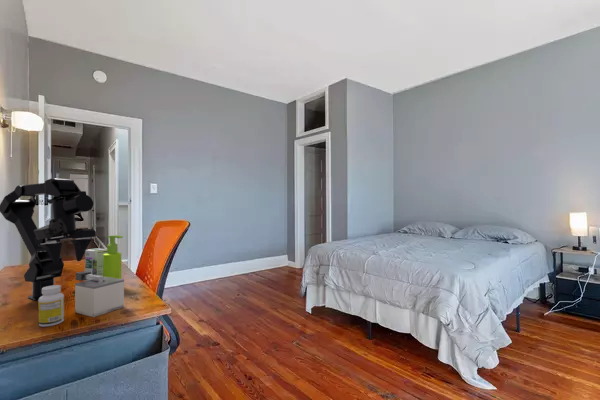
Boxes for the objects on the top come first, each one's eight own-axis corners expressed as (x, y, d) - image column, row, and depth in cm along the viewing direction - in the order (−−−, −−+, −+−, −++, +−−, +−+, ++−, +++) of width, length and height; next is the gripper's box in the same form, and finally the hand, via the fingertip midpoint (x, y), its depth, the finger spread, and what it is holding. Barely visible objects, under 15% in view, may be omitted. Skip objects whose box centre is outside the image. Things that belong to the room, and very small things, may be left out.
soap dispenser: (115, 290, 111) (115, 236, 112) (99, 289, 113) (99, 236, 113) (127, 286, 117) (127, 234, 117) (111, 285, 119) (112, 234, 119)
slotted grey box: (75, 312, 90) (75, 283, 90) (105, 303, 98) (105, 276, 98) (93, 317, 86) (94, 286, 86) (123, 307, 94) (124, 279, 94)
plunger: (75, 298, 95) (75, 272, 95) (85, 295, 97) (85, 271, 97) (96, 303, 90) (96, 276, 90) (106, 300, 93) (106, 274, 93)
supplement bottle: (48, 319, 84) (48, 284, 84) (69, 319, 85) (69, 283, 85) (32, 327, 79) (32, 290, 79) (55, 326, 79) (55, 289, 79)
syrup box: (83, 287, 116) (84, 249, 116) (99, 283, 121) (99, 247, 121) (93, 289, 113) (94, 250, 114) (109, 285, 119) (109, 248, 119)
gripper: (15, 219, 95) (17, 269, 94) (63, 211, 91) (67, 263, 90) (50, 219, 106) (53, 264, 105) (95, 212, 102) (99, 258, 101)
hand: (67, 262), depth 100 cm, fingers open, 9 cm apart
